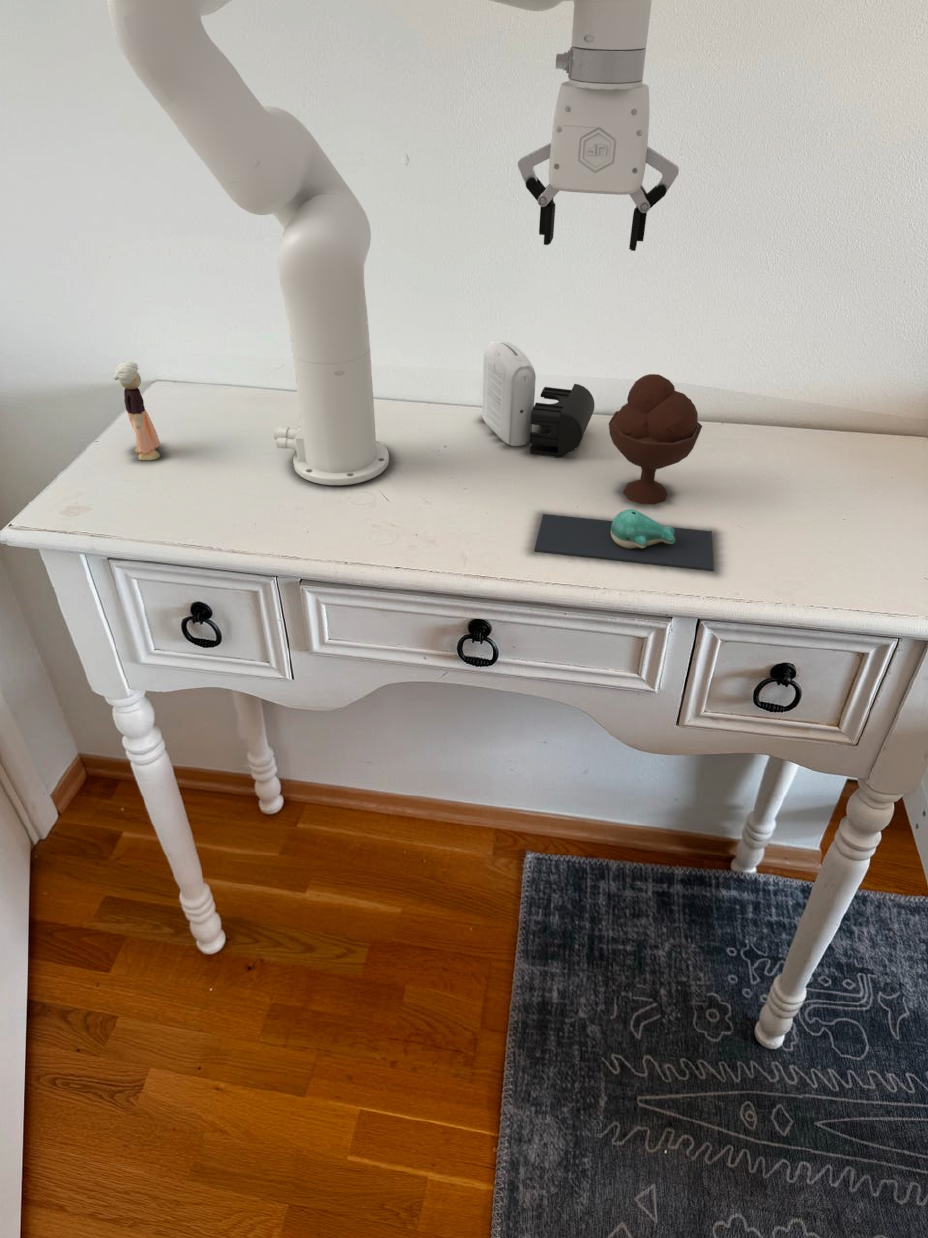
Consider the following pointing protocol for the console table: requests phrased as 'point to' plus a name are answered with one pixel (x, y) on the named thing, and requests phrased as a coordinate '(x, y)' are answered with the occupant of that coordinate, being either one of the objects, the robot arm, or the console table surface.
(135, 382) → the grandmother figurine
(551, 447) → the end cap
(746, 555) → the console table surface
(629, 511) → the whale figurine
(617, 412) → the ice cream bowl
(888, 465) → the console table surface
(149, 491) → the console table surface
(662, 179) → the robot arm
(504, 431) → the photo printer
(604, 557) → the plate
